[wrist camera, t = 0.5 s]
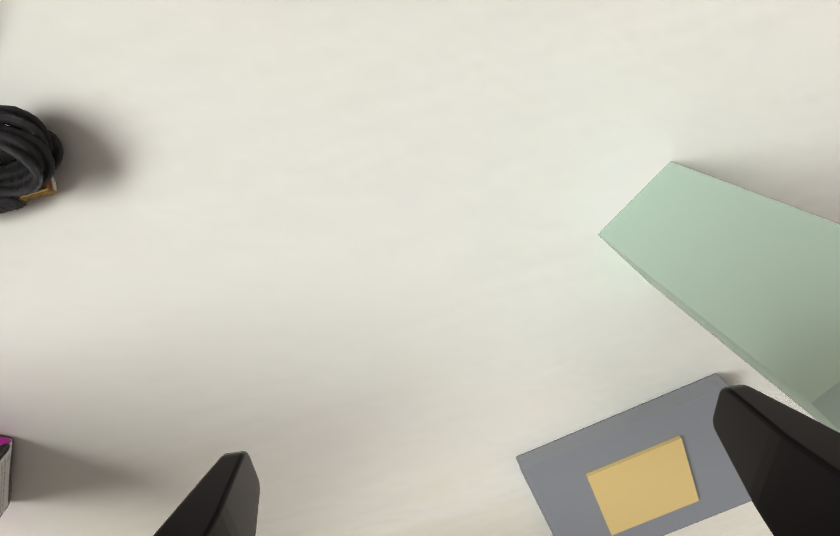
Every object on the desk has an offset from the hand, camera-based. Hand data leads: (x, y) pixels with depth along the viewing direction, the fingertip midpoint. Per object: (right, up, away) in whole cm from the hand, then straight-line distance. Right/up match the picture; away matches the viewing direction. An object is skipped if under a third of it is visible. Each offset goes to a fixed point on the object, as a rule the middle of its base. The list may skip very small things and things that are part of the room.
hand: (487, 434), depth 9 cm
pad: (+12, -9, +20) cm, 25 cm away
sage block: (+10, +5, +14) cm, 18 cm away
